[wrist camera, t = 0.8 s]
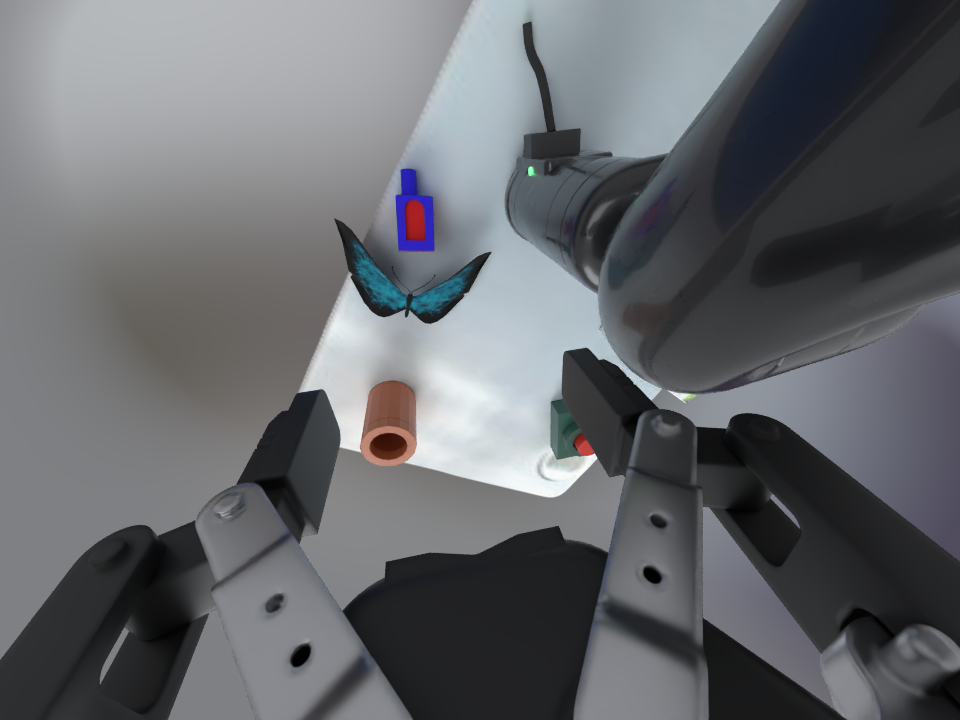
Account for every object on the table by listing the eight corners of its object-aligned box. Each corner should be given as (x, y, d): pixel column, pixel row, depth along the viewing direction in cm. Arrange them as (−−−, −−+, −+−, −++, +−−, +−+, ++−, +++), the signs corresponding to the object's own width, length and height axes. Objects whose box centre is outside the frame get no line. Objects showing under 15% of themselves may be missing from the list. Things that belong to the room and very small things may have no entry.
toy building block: (431, 254, 40) (428, 177, 38) (434, 251, 36) (431, 165, 34) (399, 254, 39) (394, 176, 38) (398, 250, 35) (393, 163, 34)
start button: (574, 433, 55) (579, 441, 53) (596, 428, 55) (601, 436, 53) (573, 449, 56) (577, 458, 55) (594, 445, 57) (599, 453, 55)
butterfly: (328, 315, 40) (324, 242, 33) (336, 285, 43) (334, 211, 36) (472, 336, 45) (498, 275, 37) (470, 307, 48) (493, 246, 40)
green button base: (550, 401, 57) (562, 422, 52) (598, 392, 57) (613, 412, 53) (550, 446, 62) (560, 468, 58) (593, 437, 63) (607, 458, 58)
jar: (362, 385, 49) (353, 432, 41) (409, 377, 50) (410, 421, 42) (374, 421, 53) (368, 470, 45) (418, 413, 53) (420, 460, 45)
